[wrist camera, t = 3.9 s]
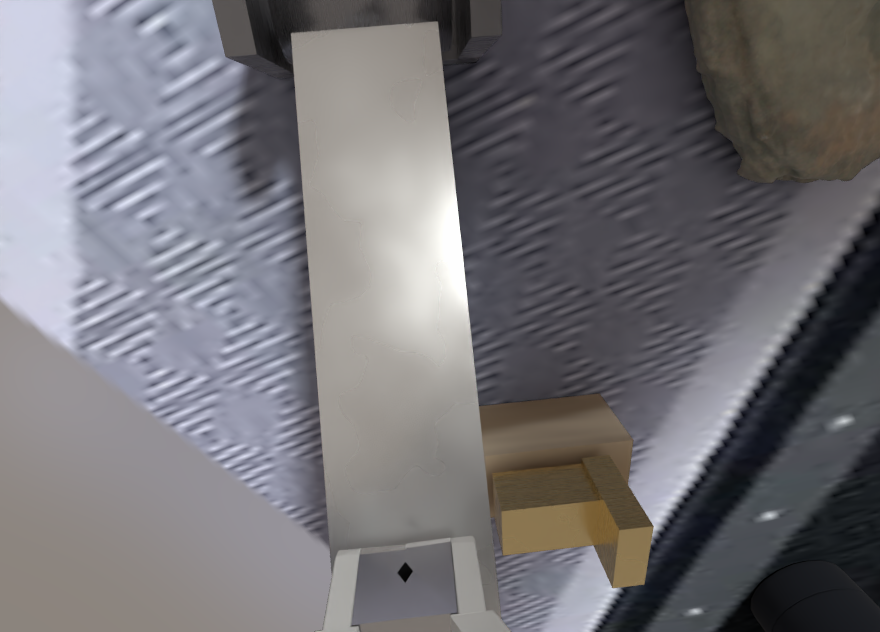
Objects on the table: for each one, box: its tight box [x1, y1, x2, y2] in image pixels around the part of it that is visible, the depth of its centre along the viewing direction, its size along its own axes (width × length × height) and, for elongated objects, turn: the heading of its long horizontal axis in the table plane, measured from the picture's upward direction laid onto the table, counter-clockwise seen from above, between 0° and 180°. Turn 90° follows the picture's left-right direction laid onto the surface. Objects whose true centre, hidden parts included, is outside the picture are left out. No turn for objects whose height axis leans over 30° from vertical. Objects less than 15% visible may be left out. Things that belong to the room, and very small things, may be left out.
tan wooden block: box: [479, 394, 633, 518], centre depth 21 cm, size 4×6×4 cm, turn 94°
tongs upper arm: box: [268, 0, 501, 618], centre depth 12 cm, size 22×5×2 cm, turn 4°
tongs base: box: [212, 0, 502, 79], centre depth 17 cm, size 22×7×5 cm, turn 4°
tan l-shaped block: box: [492, 455, 654, 588], centre depth 17 cm, size 3×5×4 cm, turn 95°
